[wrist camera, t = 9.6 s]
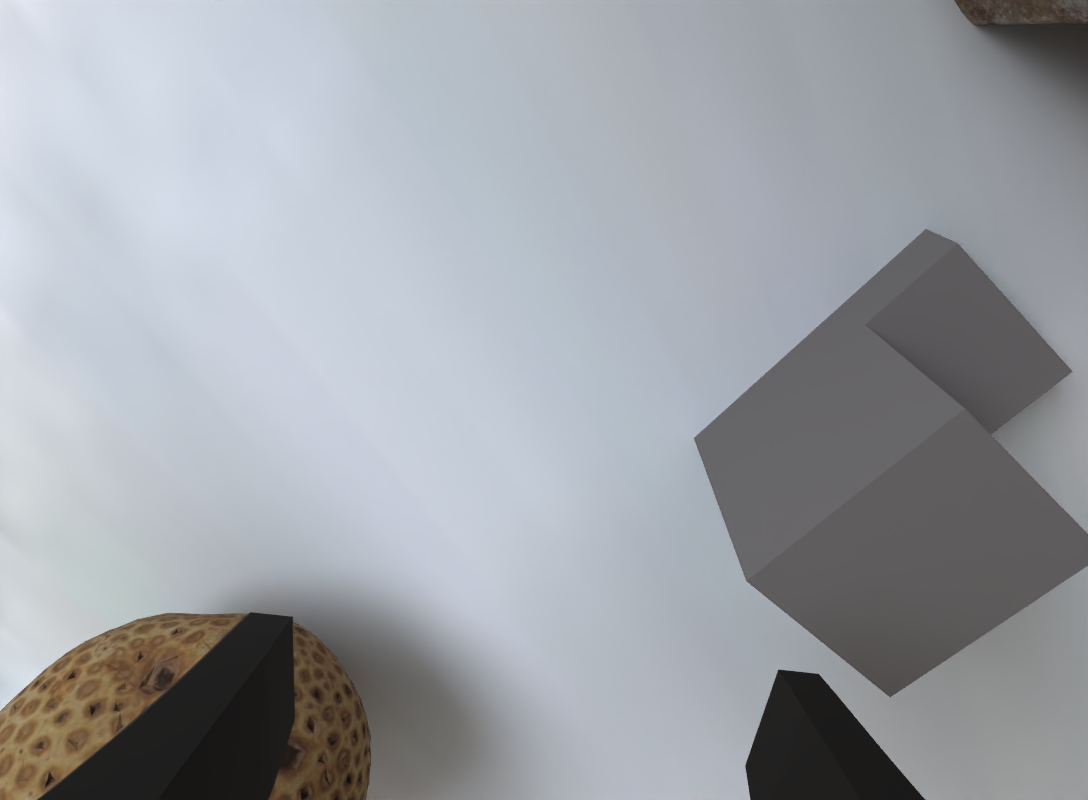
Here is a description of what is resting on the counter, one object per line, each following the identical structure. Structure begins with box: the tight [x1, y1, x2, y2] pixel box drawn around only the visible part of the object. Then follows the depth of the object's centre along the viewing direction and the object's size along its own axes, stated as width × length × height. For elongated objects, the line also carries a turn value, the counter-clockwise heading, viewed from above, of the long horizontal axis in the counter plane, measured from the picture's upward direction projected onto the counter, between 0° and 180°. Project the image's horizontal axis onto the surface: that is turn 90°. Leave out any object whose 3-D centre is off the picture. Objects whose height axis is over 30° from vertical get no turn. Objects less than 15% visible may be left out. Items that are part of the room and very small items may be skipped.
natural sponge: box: [0, 613, 371, 800], centre depth 18 cm, size 9×9×10 cm
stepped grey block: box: [694, 230, 1088, 697], centre depth 16 cm, size 4×8×6 cm, turn 138°
